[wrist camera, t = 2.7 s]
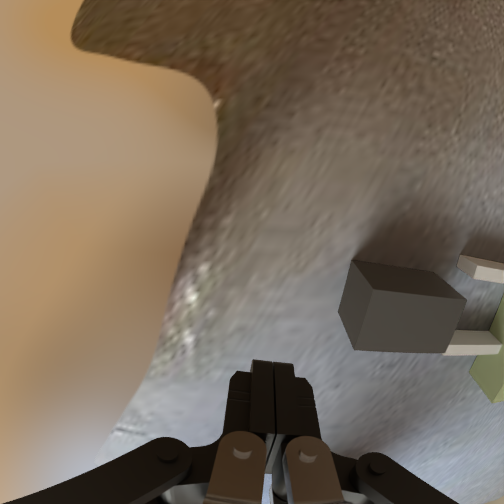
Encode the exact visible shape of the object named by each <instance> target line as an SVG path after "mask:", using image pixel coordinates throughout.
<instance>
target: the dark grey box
mask: <svg viewBox="0 0 504 504" xmlns="http://www.w3.org/2000/svg"><path fill="white" fill-rule="evenodd" d="M466 302H467V300H466V299H465V298H464V297H463V296H462V295H461V294H459V293H458V292H457V291H456V290H455V289H454V288H452V287H451V286H450V285H449V284H448V283H446V282H445V281H444V280H443V279H442V278H440V277H439V276H438V275H437V274H435V273H434V272H428V271H421V270H415V269H408V268H402V267H395V266H388V265H382V264H375V263H369V262H362V261H355V260H351V264H350V268H349V272H348V276H347V280H346V284H345V288H344V291H343V295H342V299H341V302H340V306H339V310H338V313H339V315H340V318H341V320H342V322H343V325H344V327H345V330H346V332H347V334H348V337H349V339H350V342H351V344H352V347H353V349H354V350H362V351H379V352H403V353H445V352H446V350H447V348H448V346H449V344H450V341H451V339H452V337H453V334H454V332H455V330H456V327H457V325H458V323H459V320H460V318H461V315H462V312H463V310H464V307H465V305H466Z"/></svg>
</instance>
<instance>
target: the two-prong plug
mask: <svg viewBox="0 0 504 504" xmlns="http://www.w3.org/2000/svg"><path fill="white" fill-rule="evenodd" d="M457 267H458V268H459V269H460V270H462V271H463V272H465V273H466V274H467V275H469V276H470V277H472V278H473V279H479V280H485V281H491V282H498V283H504V264H503V263H499V262H494V261H489V260H484V259H480V258H475V257H470V256H465V255H460V256H459V260H458V263H457ZM441 354H442V355H477V357H476V359H475V361H474V363H473V365H472V367H471V369H470V371H469V373H470V374H471V376H472V377H473V378H474V380H475V381H476V382H477V384H478V385H479V386H480V388H481V389H482V390H483V392H484V393H485V395H486V396H487V397H488V399H489V400H490V401H491V403H496V402H501V401H504V294H503V297H502V300H501V302H500V305H499V308H498V310H497V313H496V315H495V318H494V320H493V322H492V325H491V327H490V329H489V331H471V330H455V332H454V334H453V337H452V339H451V341H450V344H449V346H448V348H447V350H446V352H445V353H441Z"/></svg>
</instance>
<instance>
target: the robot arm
mask: <svg viewBox="0 0 504 504" xmlns="http://www.w3.org/2000/svg"><path fill="white" fill-rule="evenodd" d="M315 406H316V405H315V400H314V394H313V389H312V386H311V385H310V384H309V382H308V381H307V380H306V378H299V377H295V374H294V366H293V364H291V363H281V362H273V363H272V362H271V361H262V360H254V359H253V360H252V364H251V370H250V372H243V371H236V373H235V374H234V375H233V376H232V377H231V379H230V383H229V391H228V398H227V405H226V412H225V420H224V427H223V433H222V435H221V436H220V438H219V439H218V440H217V441H215V442H214V443H212V444H210V445H206V446H201V447H188V446H187V445H186V444H185V443H184V442H182V441H180V440H178V439H175V438H171V437H161V438H156V439H154V440H151V441H150V442H148V443H146V444H144V445H142V446H140V447H138V448H136V449H134V450H132V451H130V452H128V453H126V454H124V455H122V456H120V457H118V458H116V459H114V460H112V461H110V462H108V463H105V464H103V465H101V466H99V467H97V468H95V469H93V470H90V471H88V472H86V473H83V474H81V475H79V476H76V477H74V478H72V479H69V480H67V481H64V482H62V483H60V484H57V485H54V486H52V487H49V488H47V489H44V490H41V491H39V492H36V493H33V494H31V495H28V496H25V497H22V498H19V499H16V500H13V501H10V502H6V503H3V504H261V503H262V493H263V484H264V474H265V473H266V474H272V484H271V486H270V489H269V498H270V504H459V503H457V502H456V501H454V500H452V499H451V498H449V497H447V496H446V495H444V494H443V493H441V492H440V491H438V490H437V489H435V488H433V487H432V486H430V485H429V484H427V483H426V482H424V481H423V480H421V479H420V478H418V477H417V476H415V475H414V474H412V473H411V472H410V471H408V470H407V469H405V468H404V467H402V466H401V465H399V464H398V463H397V462H395V461H394V460H392V459H391V458H390V457H388V456H386V455H384V454H381V453H377V452H372V453H367V454H364V455H362V456H361V457H360V458H359V459H358V460H356V459H352V458H348V457H344V456H340V455H337V454H335V453H333V452H331V451H330V449H329V447H328V446H327V444H326V443H324V442H323V441H322V439H321V434H320V428H319V422H318V417H317V411H316V408H315Z"/></svg>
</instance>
